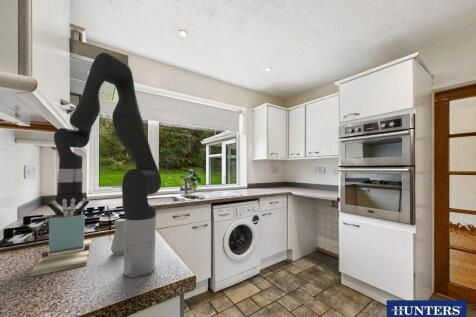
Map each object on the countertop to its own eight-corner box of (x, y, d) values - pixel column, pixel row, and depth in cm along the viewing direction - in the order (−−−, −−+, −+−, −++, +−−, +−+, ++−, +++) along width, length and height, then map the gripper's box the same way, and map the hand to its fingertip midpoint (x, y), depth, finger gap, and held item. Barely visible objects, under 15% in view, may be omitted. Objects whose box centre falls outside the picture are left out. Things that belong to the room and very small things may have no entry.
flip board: (86, 265, 70) (86, 256, 70) (29, 276, 63) (30, 267, 63) (91, 241, 92) (92, 235, 92) (50, 247, 85) (50, 240, 85)
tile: (83, 247, 81) (83, 249, 80) (49, 253, 75) (48, 255, 74) (84, 214, 80) (84, 215, 79) (50, 217, 75) (49, 219, 74)
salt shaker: (120, 257, 76) (121, 222, 77) (107, 255, 77) (108, 221, 78) (131, 251, 82) (132, 218, 82) (118, 249, 83) (119, 217, 84)
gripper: (44, 181, 72) (42, 231, 72) (90, 180, 79) (89, 225, 79) (50, 180, 79) (48, 226, 78) (92, 179, 86) (90, 221, 85)
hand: (68, 225), depth 78 cm, fingers closed
